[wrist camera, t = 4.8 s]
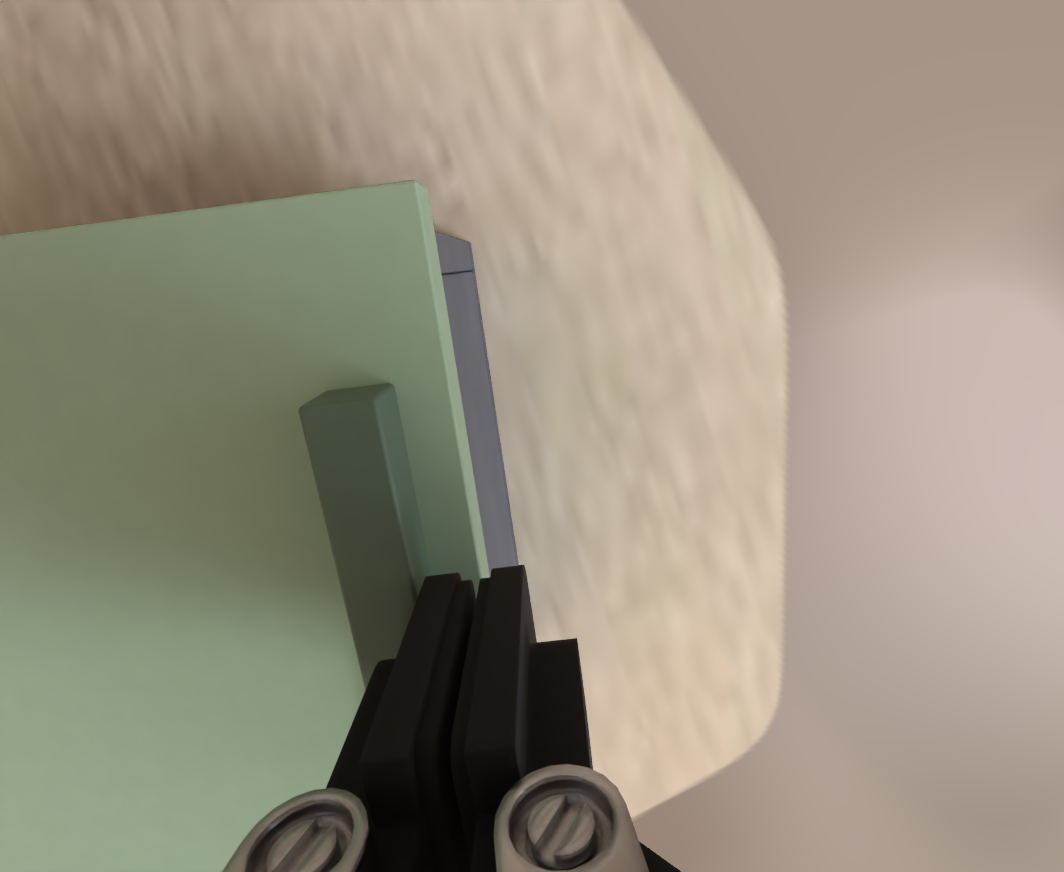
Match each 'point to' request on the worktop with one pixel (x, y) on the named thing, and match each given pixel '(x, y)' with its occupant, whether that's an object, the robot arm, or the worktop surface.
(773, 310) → the worktop surface
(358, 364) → the bin lid
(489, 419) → the storage bin
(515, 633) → the robot arm
